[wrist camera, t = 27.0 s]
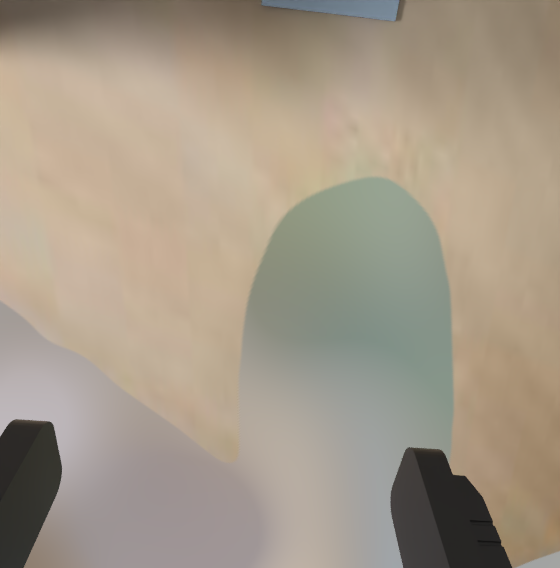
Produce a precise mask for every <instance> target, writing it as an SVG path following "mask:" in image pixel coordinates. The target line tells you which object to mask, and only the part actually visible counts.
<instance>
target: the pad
mask: <svg viewBox="0 0 560 568" xmlns="http://www.w3.org/2000/svg"><path fill="white" fill-rule="evenodd" d="M261 5H264V6H272V7H281V8H289V9H297V10H305V11H314V12H322V13H330V14H339V15H347V16H355V17H363V18H372V19H380V20H388V21H395V20H396V15H397V10H398V5H399V0H262V4H261Z"/></svg>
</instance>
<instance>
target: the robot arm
mask: <svg viewBox="0 0 560 568" xmlns="http://www.w3.org/2000/svg"><path fill="white" fill-rule="evenodd" d="M61 474H62V465H61V460H60V455H59V450H58V445H57V440H56V436H55V431H54V427H53V424H52V423H51V422H47V421H32V420H17V419H16V420H13V421H12V422H10V423H9V425H8V426H7V427H6V429H5V430H4V432H3V433H2V435H1V436H0V568H23V567H24V565H25V563H26V561H27V559H28V556H29V554H30V552H31V550H32V547H33V545H34V543H35V541H36V539H37V537H38V534H39V532H40V530H41V528H42V525H43V523H44V521H45V519H46V517H47V515H48V512H49V510H50V508H51V506H52V503H53V501H54V499H55V497H56V494H57V492H58V489H59V485H60V481H61ZM391 513H392V519H393V523H394V528H395V532H396V537H397V541H398V546H399V550H400V555H401V559H402V563H403V568H512V566H511V564H510V561H509V559H508V557H507V554H506V552H505V549H504V547H502V546H501V540H500V537H499V535H498V533H497V530H496V528H495V526H493V521H492V518H491V516H490V514H489V511H488V509H487V506H486V504H485V502H484V499H483V497H482V496H481V495H480V493H479V492H478V491H477V490H476V489H475V487H474V486H473V485H472V484H471V482H470V481H469V480H468V479H467V478H466V476H459V475H453V474H452V472H451V469H450V466H449V464H448V461H447V458H446V456H445V454H444V453H443V451H441V450H439V449H424V448H410V447H409V448H407V449H406V450H405V453H404V456H403V458H402V461H401V464H400V467H399V470H398V472H397V475H396V478H395V481H394V484H393V487H392V491H391Z"/></svg>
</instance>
